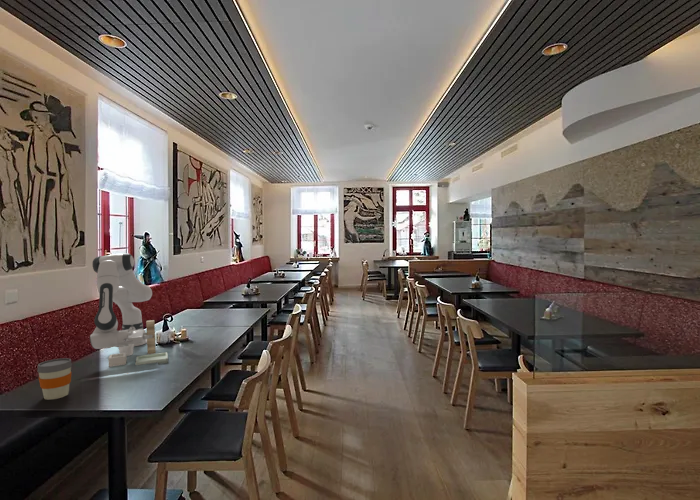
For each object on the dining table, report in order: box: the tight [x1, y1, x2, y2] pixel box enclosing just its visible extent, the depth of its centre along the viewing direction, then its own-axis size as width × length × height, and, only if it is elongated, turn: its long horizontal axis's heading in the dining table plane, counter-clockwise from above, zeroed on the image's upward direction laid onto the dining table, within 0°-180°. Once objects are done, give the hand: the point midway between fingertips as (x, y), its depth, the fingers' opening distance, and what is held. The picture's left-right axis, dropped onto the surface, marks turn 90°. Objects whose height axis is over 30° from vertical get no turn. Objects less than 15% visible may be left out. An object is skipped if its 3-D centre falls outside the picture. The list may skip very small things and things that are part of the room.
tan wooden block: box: [145, 319, 157, 355], centre depth 233 cm, size 4×4×18 cm
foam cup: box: [118, 344, 135, 357], centre depth 246 cm, size 10×9×13 cm
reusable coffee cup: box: [36, 357, 73, 400], centre depth 185 cm, size 13×13×15 cm
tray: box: [135, 351, 169, 366], centre depth 234 cm, size 14×16×2 cm
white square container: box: [107, 352, 128, 367], centre depth 229 cm, size 8×8×6 cm
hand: (152, 335), depth 234 cm, fingers closed on tan wooden block, 4 cm apart
